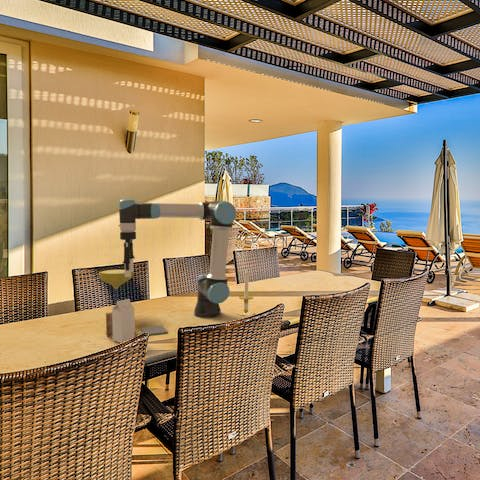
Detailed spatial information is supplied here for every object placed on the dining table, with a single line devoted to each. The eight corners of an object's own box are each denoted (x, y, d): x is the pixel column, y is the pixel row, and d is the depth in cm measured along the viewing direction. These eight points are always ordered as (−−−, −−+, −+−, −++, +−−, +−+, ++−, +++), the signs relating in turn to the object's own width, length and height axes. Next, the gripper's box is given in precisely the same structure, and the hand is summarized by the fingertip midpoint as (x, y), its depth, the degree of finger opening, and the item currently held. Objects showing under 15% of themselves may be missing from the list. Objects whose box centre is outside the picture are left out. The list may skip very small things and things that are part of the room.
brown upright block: (133, 330, 207) (133, 309, 206) (135, 334, 202) (135, 311, 201) (105, 334, 201) (105, 311, 200) (107, 337, 197) (106, 314, 196)
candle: (255, 311, 246) (256, 266, 243) (253, 316, 236) (254, 269, 233) (238, 311, 247) (239, 265, 244) (236, 315, 237) (237, 268, 234)
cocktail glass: (118, 308, 247) (118, 266, 244) (139, 314, 237) (139, 270, 234) (92, 315, 232) (91, 271, 229) (114, 321, 222) (113, 275, 219)
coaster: (162, 326, 214) (162, 325, 214) (167, 333, 204) (167, 331, 204) (140, 329, 210) (140, 327, 210) (145, 335, 200) (145, 334, 200)
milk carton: (112, 340, 193) (112, 300, 191) (125, 336, 198) (124, 297, 196) (122, 344, 188) (121, 302, 186) (134, 340, 194) (134, 300, 192)
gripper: (123, 229, 216) (124, 269, 218) (116, 233, 191) (118, 279, 193) (138, 229, 217) (139, 269, 219) (133, 233, 192) (134, 278, 195)
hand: (129, 274), depth 206 cm, fingers open, 13 cm apart
